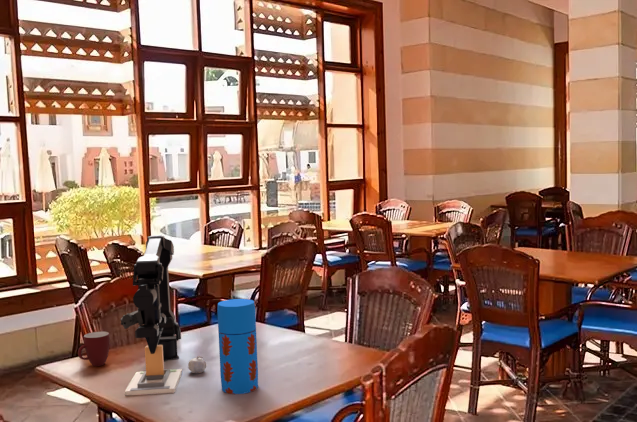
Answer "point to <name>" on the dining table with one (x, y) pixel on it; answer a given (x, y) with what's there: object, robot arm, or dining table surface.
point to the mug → (96, 347)
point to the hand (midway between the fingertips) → (152, 353)
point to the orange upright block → (154, 363)
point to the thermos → (237, 346)
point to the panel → (154, 383)
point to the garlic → (197, 365)
